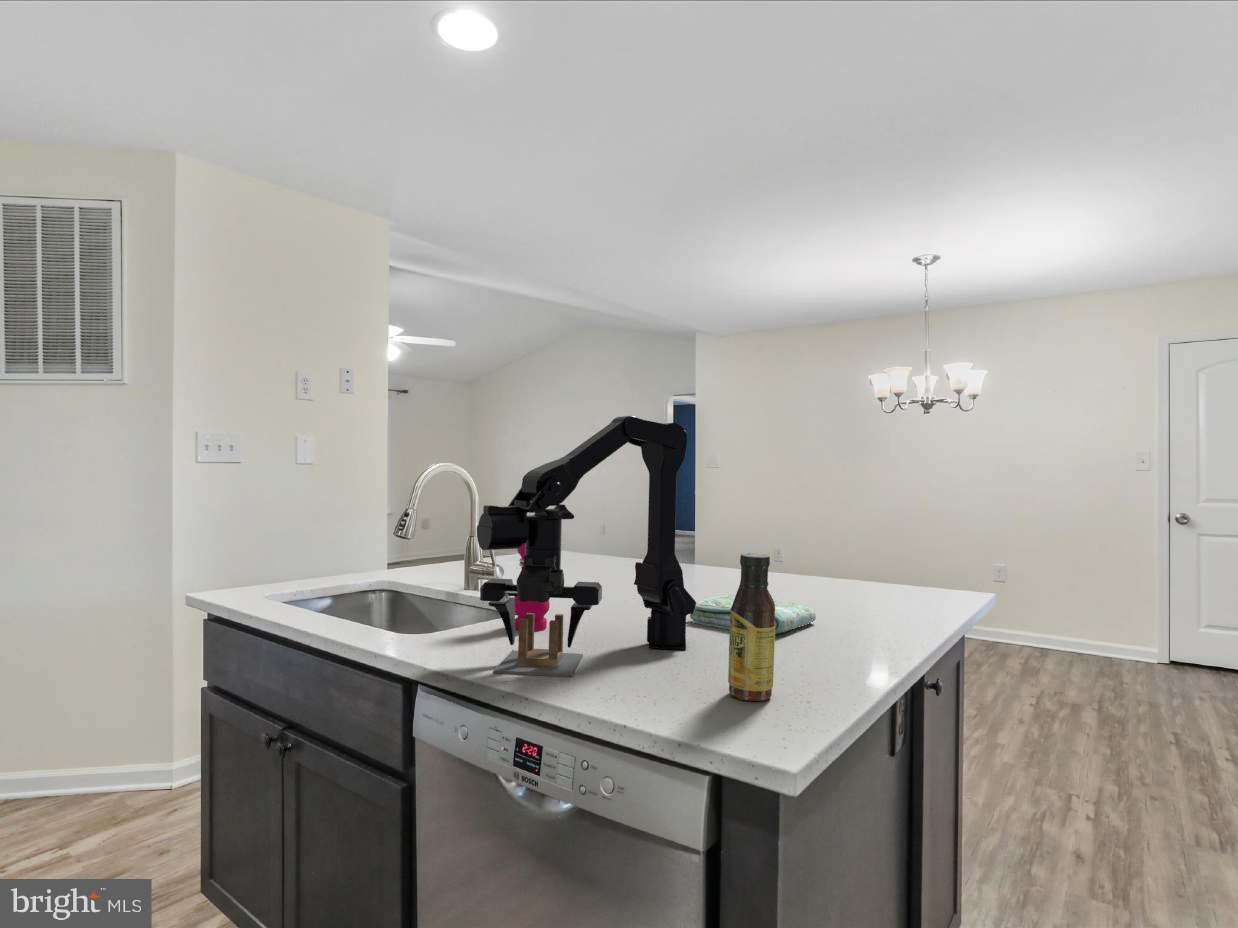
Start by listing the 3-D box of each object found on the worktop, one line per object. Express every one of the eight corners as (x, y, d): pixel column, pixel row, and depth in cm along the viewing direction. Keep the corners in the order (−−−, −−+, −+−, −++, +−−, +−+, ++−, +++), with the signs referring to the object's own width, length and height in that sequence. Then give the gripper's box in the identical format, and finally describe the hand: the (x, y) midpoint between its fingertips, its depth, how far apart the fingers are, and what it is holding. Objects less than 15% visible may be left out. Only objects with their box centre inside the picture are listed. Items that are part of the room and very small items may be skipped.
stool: (562, 657, 114) (563, 614, 114) (556, 667, 108) (557, 621, 108) (526, 655, 114) (527, 612, 114) (517, 665, 108) (519, 620, 108)
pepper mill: (552, 624, 140) (554, 525, 140) (544, 632, 132) (547, 527, 133) (516, 623, 140) (519, 523, 141) (507, 631, 133) (510, 526, 133)
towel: (727, 611, 160) (728, 589, 160) (817, 625, 147) (817, 601, 147) (685, 624, 145) (685, 599, 145) (780, 641, 132) (780, 614, 132)
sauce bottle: (723, 689, 100) (726, 550, 100) (765, 689, 101) (768, 551, 101) (734, 704, 94) (737, 556, 94) (779, 704, 94) (782, 557, 94)
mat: (582, 656, 116) (582, 653, 116) (571, 676, 104) (571, 674, 104) (512, 652, 117) (512, 650, 117) (493, 672, 105) (493, 670, 105)
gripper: (471, 551, 104) (468, 656, 104) (595, 555, 102) (592, 662, 102) (491, 543, 115) (488, 638, 115) (603, 547, 113) (601, 643, 113)
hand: (540, 645), depth 111 cm, fingers open, 9 cm apart
